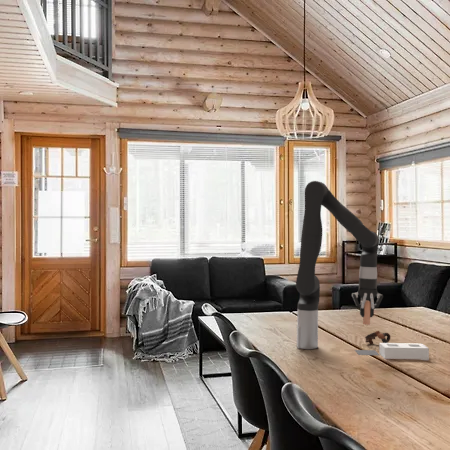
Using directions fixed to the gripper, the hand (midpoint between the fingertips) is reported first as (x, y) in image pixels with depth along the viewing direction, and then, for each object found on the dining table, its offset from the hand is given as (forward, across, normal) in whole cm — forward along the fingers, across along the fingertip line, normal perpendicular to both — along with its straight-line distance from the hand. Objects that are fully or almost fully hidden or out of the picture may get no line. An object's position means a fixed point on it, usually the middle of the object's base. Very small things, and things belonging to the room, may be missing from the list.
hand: (366, 316), depth 236 cm
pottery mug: (+16, +9, +14) cm, 23 cm away
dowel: (+3, 0, 0) cm, 3 cm away
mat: (+16, 0, 0) cm, 16 cm away
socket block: (+16, +14, -6) cm, 22 cm away
